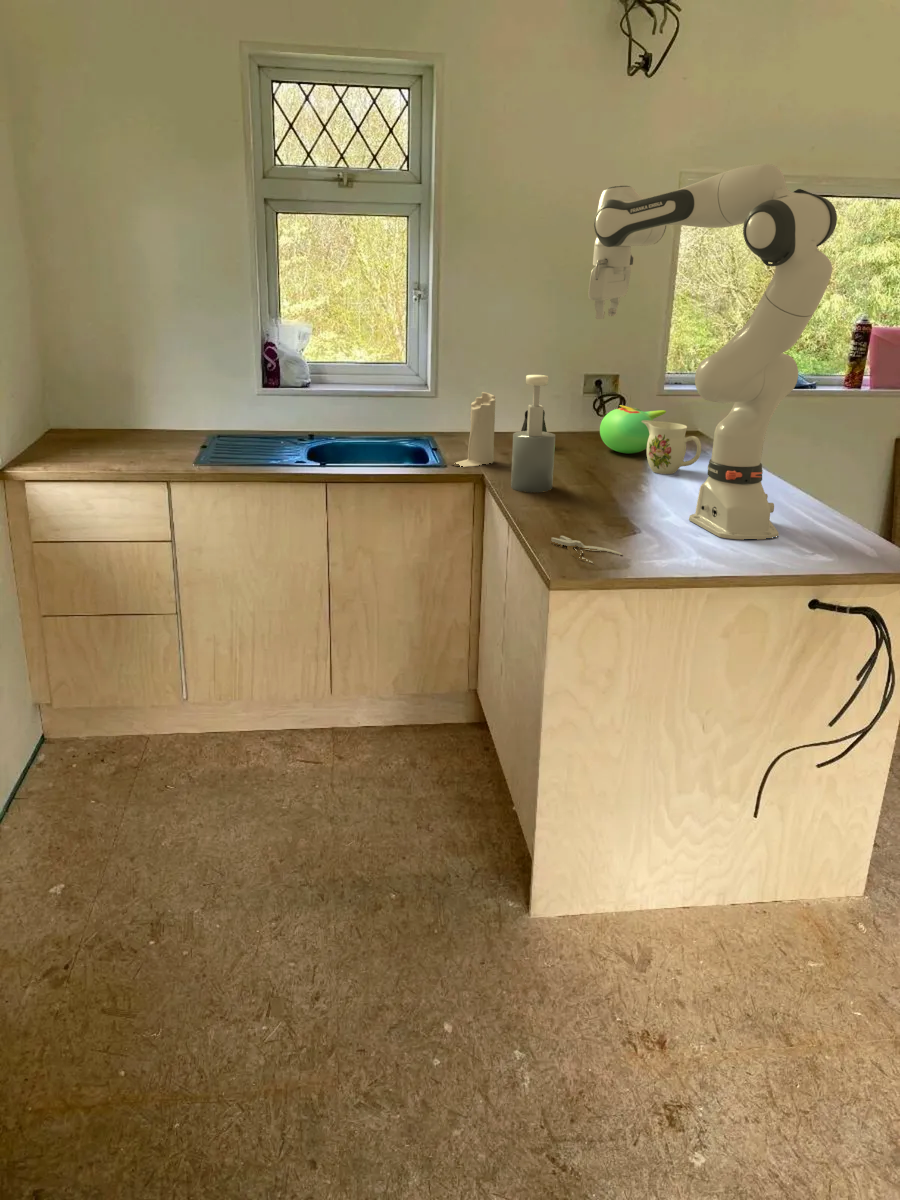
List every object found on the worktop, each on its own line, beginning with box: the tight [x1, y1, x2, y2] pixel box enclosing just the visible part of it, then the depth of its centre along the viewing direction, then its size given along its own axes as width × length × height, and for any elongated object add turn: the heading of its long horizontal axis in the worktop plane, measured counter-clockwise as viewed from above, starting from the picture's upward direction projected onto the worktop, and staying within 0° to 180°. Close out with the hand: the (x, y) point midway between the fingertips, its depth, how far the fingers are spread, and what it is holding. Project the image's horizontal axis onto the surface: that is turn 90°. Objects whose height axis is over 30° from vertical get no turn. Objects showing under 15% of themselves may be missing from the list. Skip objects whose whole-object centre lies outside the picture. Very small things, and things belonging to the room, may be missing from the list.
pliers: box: [550, 535, 623, 564], centre depth 197 cm, size 10×2×15 cm
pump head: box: [525, 374, 549, 407], centre depth 238 cm, size 6×6×9 cm
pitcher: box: [642, 420, 702, 475], centre depth 263 cm, size 11×18×14 cm, turn 58°
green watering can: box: [599, 404, 667, 455], centre depth 287 cm, size 18×17×15 cm
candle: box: [455, 391, 496, 468], centre depth 268 cm, size 7×14×20 cm, turn 130°
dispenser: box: [510, 404, 556, 493], centre depth 243 cm, size 11×11×22 cm
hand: (606, 317), depth 232 cm, fingers open, 8 cm apart
